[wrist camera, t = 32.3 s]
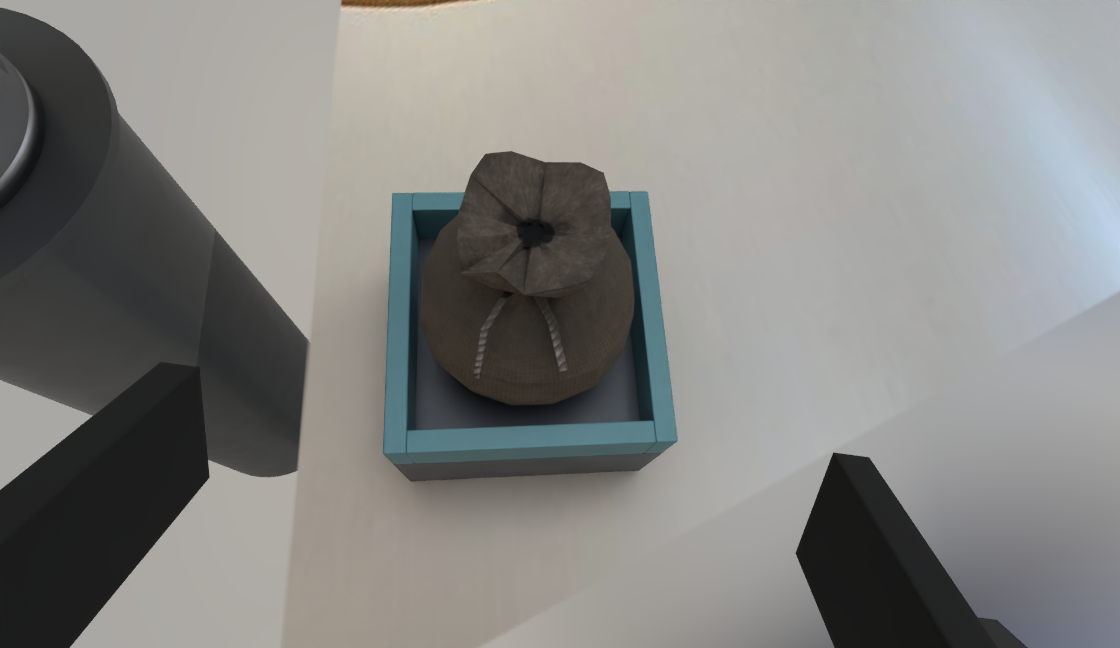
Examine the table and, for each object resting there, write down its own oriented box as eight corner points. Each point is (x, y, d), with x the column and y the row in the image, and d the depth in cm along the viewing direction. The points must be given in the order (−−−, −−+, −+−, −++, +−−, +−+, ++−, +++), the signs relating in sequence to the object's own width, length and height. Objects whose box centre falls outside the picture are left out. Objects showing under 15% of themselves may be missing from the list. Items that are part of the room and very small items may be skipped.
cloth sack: (626, 263, 36) (682, 124, 25) (607, 439, 32) (662, 368, 21) (450, 236, 36) (426, 81, 25) (411, 409, 32) (362, 322, 21)
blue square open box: (410, 481, 37) (382, 454, 28) (414, 269, 41) (392, 192, 33) (639, 470, 38) (677, 441, 30) (619, 266, 43) (648, 190, 34)
